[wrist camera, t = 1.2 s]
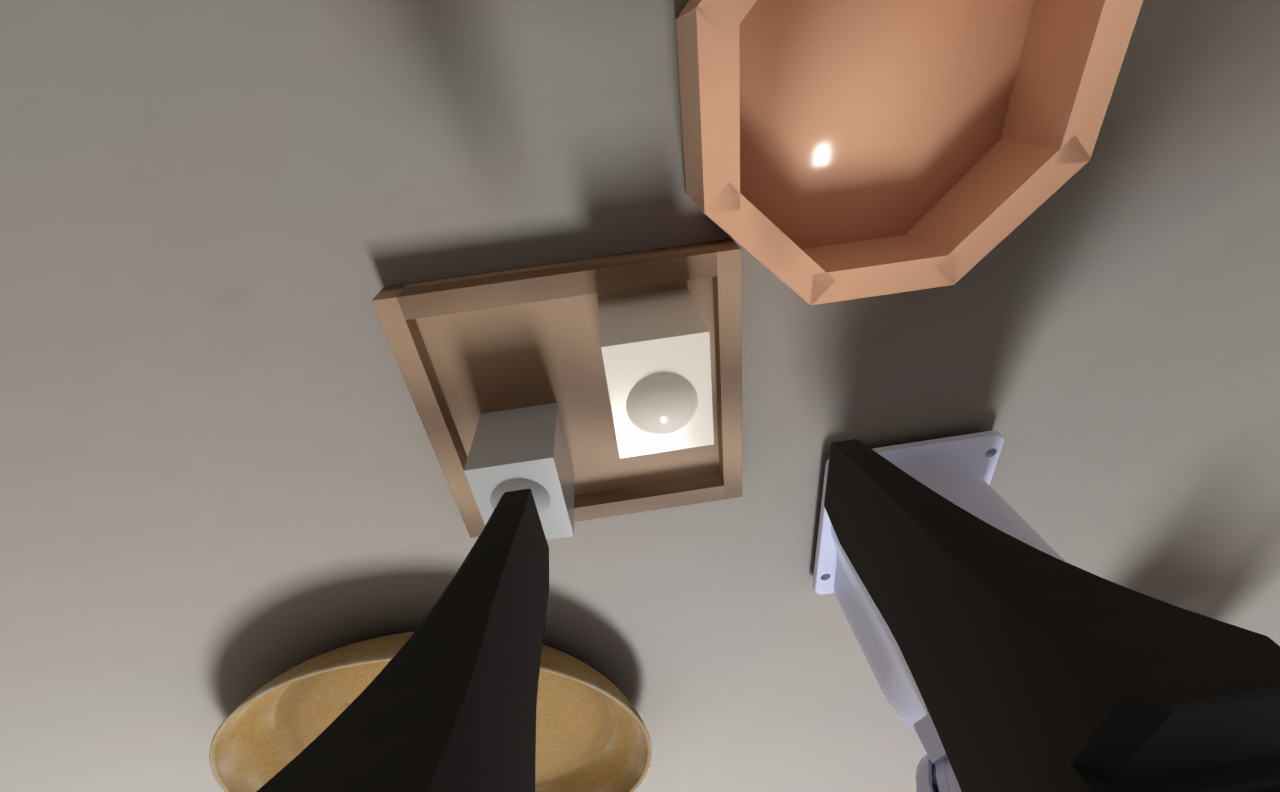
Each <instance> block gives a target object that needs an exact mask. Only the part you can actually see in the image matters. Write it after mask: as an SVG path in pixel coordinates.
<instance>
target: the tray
mask: <svg viewBox="0 0 1280 792" xmlns="http://www.w3.org/2000/svg"><path fill="white" fill-rule="evenodd" d="M681 289H688V290H689V292H690V294H691V296H692V298H693V300H694V302H695V304H696V306H697V308H698V310H699V312H700V314H701V316H702V318H703V320H704V322H705V324H706V326H707V328H708V330H709V335H710V359H711V383H712V407H713V432H714V444H713V445H707V446H700V447H693V448H687V449H680V450H673V451H667V452H660V453H653V454H646V455H640V456H633V457H626V458H620V456H619V450H618V444H617V438H616V432H615V426H614V421H613V415H612V409H611V403H610V397H609V391H608V385H607V379H606V374H605V368H604V362H603V356H602V350H601V340H600V326H599V313H598V301H603V300H610V299H617V298H624V297H631V296H638V295H645V294H652V293H659V292H666V291H674V290H681ZM372 303H373V306H374V308H375V311H376V313H377V315H378V318H379V320H380V323H381V325H382V327H383V330H384V332H385V335H386V337H387V339H388V342H389V344H390V346H391V349H392V351H393V354H394V356H395V358H396V361H397V363H398V366H399V368H400V370H401V373H402V375H403V378H404V380H405V382H406V385H407V387H408V390H409V392H410V394H411V397H412V399H413V401H414V404H415V406H416V409H417V411H418V413H419V416H420V418H421V421H422V423H423V425H424V428H425V430H426V433H427V435H428V437H429V440H430V442H431V444H432V447H433V449H434V452H435V454H436V456H437V459H438V461H439V464H440V466H441V468H442V471H443V473H444V476H445V478H446V480H447V483H448V485H449V487H450V490H451V492H452V495H453V497H454V499H455V502H456V504H457V507H458V509H459V511H460V514H461V516H462V519H463V521H464V523H465V526H466V528H467V530H468V533H469V535H470V538H472V537H478V536H480V534H481V532H482V531H483V529H484V527H485V524H484V521H483V519H482V516H481V514H480V511H479V508H478V506H477V503H476V501H475V498H474V496H473V493H472V490H471V488H470V485H469V483H468V480H467V478H466V475H465V472H464V469H465V465H466V462H467V458H468V455H469V452H470V448H471V445H472V442H473V438H474V435H475V432H476V428H477V425H478V421H479V418H480V415H481V414H483V413H490V412H497V411H504V410H511V409H517V408H524V407H531V406H538V405H545V404H552V403H557V404H558V408H559V412H560V416H561V420H562V425H563V429H564V433H565V437H566V441H567V446H568V450H569V454H570V458H571V463H572V467H573V471H574V475H575V486H574V522H577V521H584V520H590V519H597V518H604V517H610V516H617V515H623V514H630V513H636V512H643V511H650V510H656V509H663V508H669V507H676V506H683V505H689V504H696V503H702V502H709V501H716V500H722V499H729V498H735V497H742V335H741V248H740V247H739V246H738V245H737V244H736V243H735V242H734V241H733V240H732V239H728V240H721V241H714V242H706V243H699V244H692V245H685V246H678V247H671V248H664V249H657V250H649V251H642V252H635V253H628V254H621V255H614V256H607V257H599V258H592V259H585V260H578V261H571V262H564V263H557V264H549V265H542V266H535V267H528V268H521V269H514V270H507V271H499V272H492V273H485V274H478V275H471V276H464V277H457V278H449V279H442V280H435V281H428V282H421V283H414V284H407V285H399V286H392V287H385V288H383V289H382V290H381V291H380V292H379V293H378V294H377V295H376V296H375V298H374V299H373V300H372Z"/></svg>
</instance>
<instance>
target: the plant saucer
mask: <svg viewBox="0 0 1280 792" xmlns="http://www.w3.org/2000/svg"><path fill="white" fill-rule="evenodd" d="M414 632H415V631H413V632H405V633H398V634H392V635H386V636H381V637H377V638H372V639H368V640H364V641H360V642H356V643H353V644H350V645H346V646H343V647H340V648H337V649H334V650H331V651H329V652H326V653H323V654H320V655H318V656H316V657H314V658H311V659H309V660H307V661H305V662H303V663H301V664H299V665H297V666H295V667H293V668H291V669H289V670H288V671H286V672H284V673H282V674H281V675H279V676H277V677H276V678H274V679H272V680H271V681H269V682H268V683H266V684H265V685H264V686H262V687H261V688H260V689H258V690H257V691H255V692H254V693H253V694H251V695H250V696H249V697H248V698H247V699H246V700H244V701H243V702H242V703H241V704H240V705H239V706H238V707H237V708H236V709H235V710H234V711H233V712H232V713H231V714H230V715H229V716H228V717H227V718H226V719H225V720H224V721H223V723H222V724H221V725H220V727H219V728H218V730H217V731H216V733H215V735H214V737H213V739H212V743H211V746H210V754H209V760H210V766H211V770H212V772H213V775H214V777H215V779H216V781H217V782H218V784H219V786H220V787H221V788H222V790H223V791H224V792H257V791H258V790H259V789H260V788H261V787H262V786H263V785H265V784H266V783H267V782H268V781H269V780H270V779H271V778H272V777H274V776H275V775H276V774H277V773H278V772H279V771H280V770H282V769H283V768H284V767H285V766H286V765H287V764H288V763H289V762H291V761H292V760H293V759H294V758H295V757H296V756H297V755H298V754H300V753H301V752H302V751H303V750H304V749H305V748H306V747H307V746H308V745H309V744H310V743H311V742H313V741H314V740H315V739H316V738H317V737H318V736H319V735H320V734H321V733H322V732H323V731H324V730H325V729H326V728H327V727H328V726H329V725H330V724H331V723H332V722H333V721H334V720H335V719H336V718H337V717H338V716H339V715H340V714H341V713H342V712H343V711H344V710H345V709H346V708H347V707H348V706H349V705H350V704H351V703H352V702H353V701H354V700H355V699H356V698H357V697H358V696H359V695H360V694H361V693H362V692H363V691H364V690H365V688H366V687H367V686H368V685H369V684H370V683H371V682H372V681H373V680H374V679H375V678H376V676H377V675H378V674H379V673H380V672H381V671H382V670H383V668H384V667H385V666H386V665H387V664H388V663H389V662H390V660H391V659H392V658H393V657H394V656H395V655H396V653H397V652H398V651H399V650H400V649H401V648H402V646H403V645H404V644H405V643H406V642H407V640H408V639H409V638H410V637H411V635H412V634H413V633H414ZM651 757H652V745H651V740H650V737H649V734H648V732H647V730H646V728H645V725H644V723H643V721H642V720H641V718H640V716H639V714H638V713H637V711H636V710H635V708H634V707H633V705H632V704H631V703H630V701H629V700H628V699H627V698H626V697H625V695H624V694H623V693H622V692H621V691H620V690H619V689H618V688H617V687H616V686H615V685H614V684H613V683H611V682H610V681H609V680H608V679H607V678H606V677H604V676H603V675H602V674H600V673H599V672H598V671H596V670H595V669H593V668H592V667H590V666H588V665H587V664H585V663H583V662H582V661H580V660H578V659H576V658H574V657H572V656H570V655H568V654H566V653H564V652H562V651H559V650H556V649H554V648H551V647H549V646H546V645H543V646H542V655H541V663H540V672H539V681H538V693H537V708H536V759H535V792H634V791H635V789H636V788H637V787H638V786H639V785H640V784H641V782H642V781H643V779H644V778H645V776H646V774H647V772H648V769H649V767H650V762H651Z"/></svg>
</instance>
